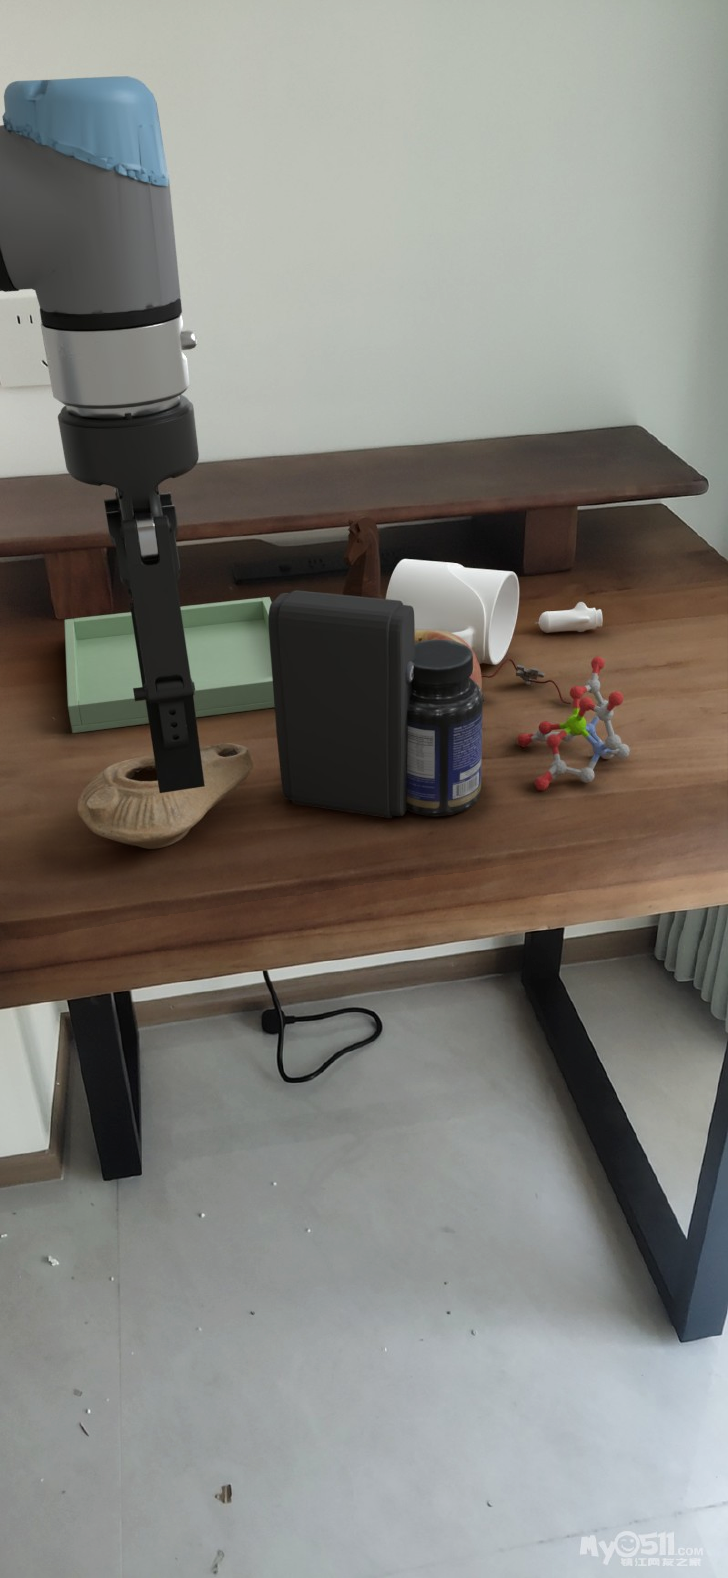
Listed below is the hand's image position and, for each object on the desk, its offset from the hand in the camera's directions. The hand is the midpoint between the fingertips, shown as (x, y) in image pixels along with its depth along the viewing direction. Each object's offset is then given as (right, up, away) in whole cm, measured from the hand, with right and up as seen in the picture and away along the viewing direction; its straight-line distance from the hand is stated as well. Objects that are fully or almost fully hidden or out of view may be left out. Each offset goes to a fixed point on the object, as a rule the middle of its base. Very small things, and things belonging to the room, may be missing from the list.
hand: (171, 735), depth 77 cm
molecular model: (+27, -2, +10) cm, 29 cm away
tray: (-3, +7, +25) cm, 26 cm away
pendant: (+25, +5, +18) cm, 31 cm away
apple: (+17, +1, +14) cm, 22 cm away
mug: (+20, +7, +25) cm, 33 cm away
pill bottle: (+18, -4, +6) cm, 19 cm away
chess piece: (+12, +12, +33) cm, 37 cm away
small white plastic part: (+31, +10, +30) cm, 44 cm away
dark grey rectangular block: (+12, -5, +6) cm, 14 cm away
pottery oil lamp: (0, -6, +4) cm, 7 cm away
